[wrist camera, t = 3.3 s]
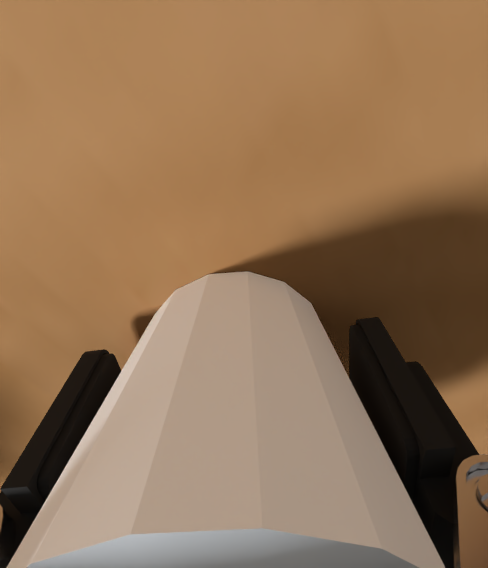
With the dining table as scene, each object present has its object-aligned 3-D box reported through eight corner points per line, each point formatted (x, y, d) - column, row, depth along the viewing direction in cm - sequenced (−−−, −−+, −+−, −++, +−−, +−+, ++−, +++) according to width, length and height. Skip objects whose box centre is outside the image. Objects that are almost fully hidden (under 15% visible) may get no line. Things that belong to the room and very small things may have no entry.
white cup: (88, 285, 10) (-158, 593, 4) (325, 221, 9) (496, 493, 3) (175, 436, 13) (117, 735, 7) (357, 401, 12) (471, 708, 6)
